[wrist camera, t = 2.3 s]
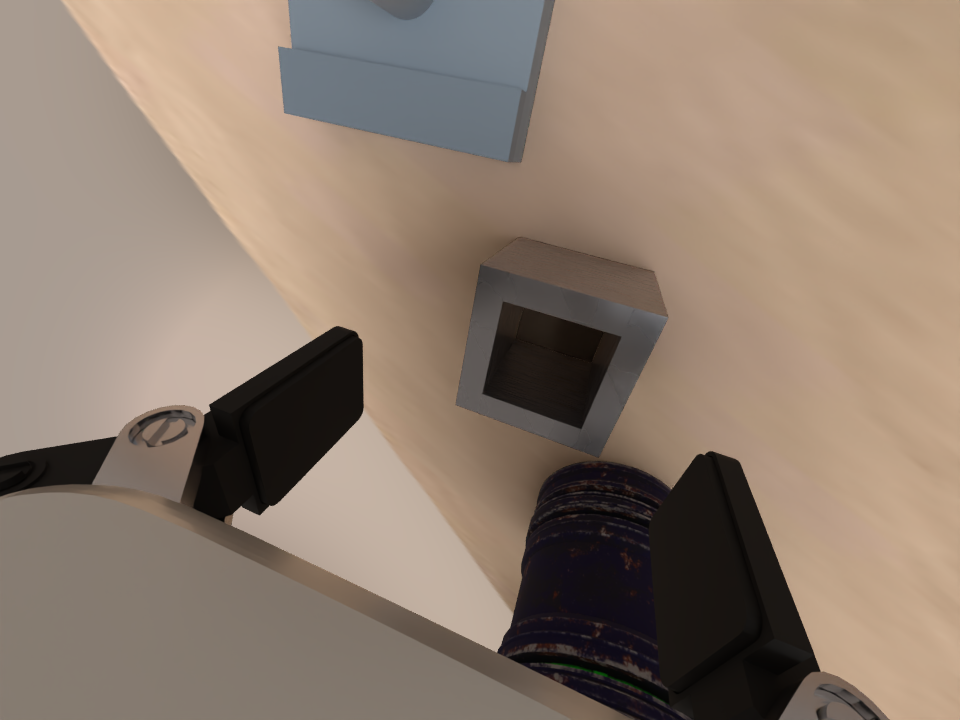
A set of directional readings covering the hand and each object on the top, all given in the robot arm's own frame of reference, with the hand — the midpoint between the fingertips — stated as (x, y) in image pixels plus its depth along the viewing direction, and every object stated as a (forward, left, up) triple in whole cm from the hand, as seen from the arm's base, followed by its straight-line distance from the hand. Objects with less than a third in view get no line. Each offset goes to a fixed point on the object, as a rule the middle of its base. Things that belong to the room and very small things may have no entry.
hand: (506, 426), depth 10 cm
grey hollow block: (-1, 0, -11) cm, 11 cm away
